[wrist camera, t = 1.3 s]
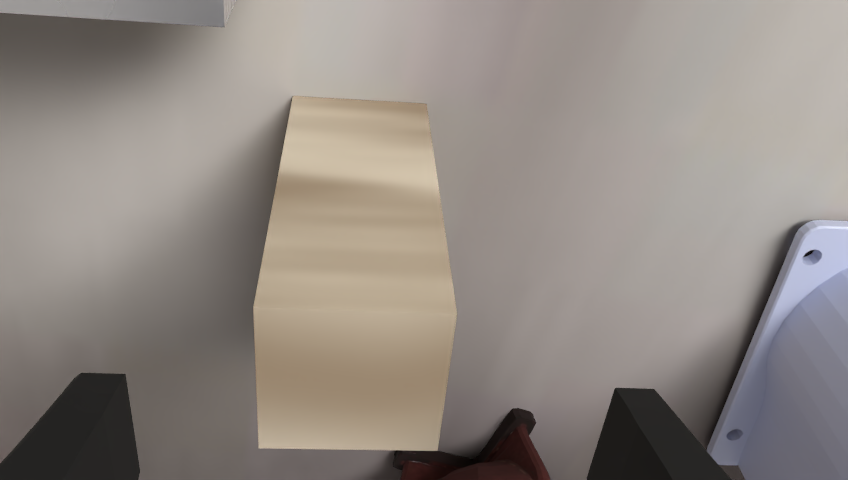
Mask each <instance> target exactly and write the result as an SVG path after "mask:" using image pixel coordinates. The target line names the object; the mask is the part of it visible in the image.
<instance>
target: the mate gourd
mask: <svg viewBox="0 0 848 480" xmlns="http://www.w3.org/2000/svg"><path fill="white" fill-rule="evenodd" d="M535 424H536V422H535V419H534V417H533V414H532V413H531V412H529V411H526V410H522V409H519V408H517V409H512V410H511V411H510V413H509V414H508V415H507V416H506V418H505V419H504V421H503V422H502V423H501V425H500V426H499V428H498V429H497V431H496V432H495V434H494V435H493V436H492V438H491V439H490V441H489V442H488V444H487V445H486V447H485V448H484V449H483V451H482V452H481V453H480V454H479V456H478V457H476V458H473V459H470V458H465V457H460V456H456V455H452V454H448V453H444V452H440V451H408V450H396V452H395V454H394V455H395V457H394V462H393V467H394V468H397V469H400V470H402V475H401V479H400V480H550V477H549V474H548V472H547V470H546V468H545V466H544V464H543V462H542V460H541V458H540V456H539V454H538V452H537V451H536V449H535V447H534V445H533V443H532V441H531V439H530V437H529V435H530V433H531V431H532V429H533V428H534V426H535Z"/></svg>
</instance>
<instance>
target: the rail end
mask: <svg viewBox="0 0 848 480" xmlns="http://www.w3.org/2000/svg"><path fill="white" fill-rule="evenodd" d="M253 314H254V340H255V366H256V392H257V418H258V443H259V448H272V449H340V450H408V451H438V444H439V437H440V430H441V423H442V416H443V409H444V402H445V395H446V388H447V381H448V374H449V367H450V360H451V353H452V346H453V339H454V332H455V325H456V318H457V310H456V303H455V296H454V289H453V282H452V276H451V269H450V262H449V255H448V248H447V241H446V234H445V228H444V221H443V214H442V207H441V200H440V193H439V186H438V180H437V173H436V166H435V159H434V152H433V145H432V138H431V132H430V125H429V118H428V111H427V104H422V103H404V102H387V101H369V100H352V99H334V98H317V97H299V96H293V98H292V103H291V108H290V114H289V119H288V125H287V130H286V135H285V141H284V146H283V151H282V157H281V162H280V167H279V173H278V178H277V183H276V189H275V194H274V199H273V205H272V210H271V215H270V221H269V226H268V231H267V237H266V242H265V247H264V253H263V258H262V263H261V269H260V274H259V279H258V285H257V290H256V296H255V301H254V306H253Z"/></svg>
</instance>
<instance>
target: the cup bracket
mask: <svg viewBox="0 0 848 480" xmlns="http://www.w3.org/2000/svg"><path fill="white" fill-rule="evenodd" d="M235 3H236V0H0V13H13V14H28V15H43V16H59V17H74V18H89V19H105V20H120V21H136V22H151V23H166V24H182V25H197V26H213V27H225V26H226V23H227V21H228V19H229V16H230V14H231V12H232V9H233V7H234V5H235Z"/></svg>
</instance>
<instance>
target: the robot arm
mask: <svg viewBox="0 0 848 480" xmlns="http://www.w3.org/2000/svg"><path fill="white" fill-rule="evenodd" d="M810 250H814V251H813V253H812V254H810V255H808V256H806V257H803V256H804V255H805V253H807V252H808V251H810ZM719 465H738V466H739V468H740V470H741V472H742V474H743V476H744V478H745V480H848V221H835V220H814V221H810V222H808V223H806V224H804V225H803V226H802V227H801V228H799V230H798V231H797V233H796V234H795V237H794V239H793V242H792V244H791V246H790V249H789V251H788V254H787V256H786V258H785V261H784V263H783V266H782V268H781V271H780V273H779V275H778V278H777V280H776V283H775V285H774V287H773V290H772V292H771V295H770V297H769V300H768V302H767V304H766V307H765V309H764V312H763V314H762V316H761V319H760V321H759V324H758V326H757V329H756V331H755V333H754V336H753V338H752V341H751V343H750V345H749V348H748V350H747V353H746V355H745V357H744V360H743V362H742V365H741V367H740V370H739V372H738V374H737V377H736V379H735V382H734V384H733V386H732V389H731V391H730V394H729V396H728V399H727V401H726V403H725V406H724V408H723V411H722V413H721V415H720V418H719V420H718V423H717V425H716V428H715V430H714V432H713V435H712V437H711V440H710V442H709V444H708V447H707V451H706V450H705V449H704V447H703V446H702V445H701V444H700V443H699V442H698V440H697V439H696V438H695V437H694V436H693V434H692V433H691V432H690V431H689V430H688V429H687V427H686V426H685V425H684V424H683V423H682V421H681V420H680V419H679V418H678V417H677V416H676V414H675V413H674V412H673V411H672V410H671V408H670V407H669V406H668V405H667V404H666V402H665V401H664V400H663V399H662V398H661V397H660V395H659V394H658V393H657V392H656V391H655V390H654V389H635V388H615V390H614V393H613V396H612V399H611V403H610V406H609V409H608V412H607V415H606V419H605V422H604V425H603V428H602V431H601V434H600V438H599V441H598V444H597V447H596V450H595V454H594V457H593V460H592V463H591V466H590V470H589V473H588V476H587V480H731V479H730V478H729V476H728V475H727V474H726V473H725V472H724V471H723V470H722V468H721V467H720V466H719ZM139 473H140V468H139V462H138V455H137V448H136V442H135V435H134V428H133V422H132V415H131V408H130V402H129V395H128V388H127V382H126V375H125V374H102V373H81V374H79V375H78V376H77V377H76V378H74V379H73V381H72V382H71V383H70V384H69V385H68V387H67V388H66V389H65V390H64V391H63V393H62V394H61V395H60V396H59V397H58V398H57V400H56V401H55V402H54V403H53V404H52V406H51V407H50V408H49V409H48V410H47V412H46V413H45V414H44V415H43V416H42V417H41V419H40V420H39V421H38V422H37V423H36V424H35V425H34V427H33V428H32V429H31V430H30V431H29V432H28V433H27V435H26V436H25V437H24V438H23V439H22V440H21V441H20V443H19V444H18V445H17V446H16V447H15V448H14V449H13V450H12V452H11V453H10V454H9V455H8V456H7V457H6V458H5V459H4V460H3V461H2V462H1V463H0V480H138V477H139Z"/></svg>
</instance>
